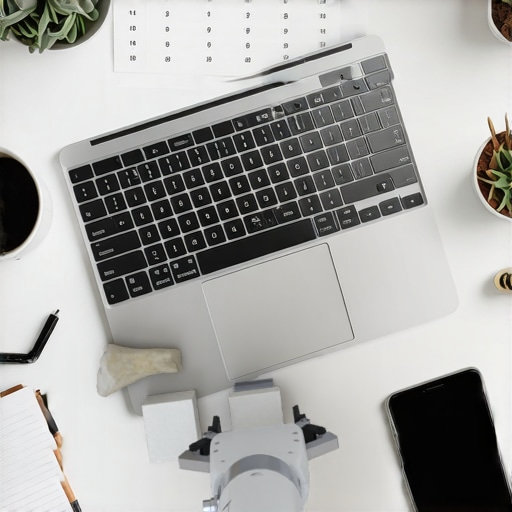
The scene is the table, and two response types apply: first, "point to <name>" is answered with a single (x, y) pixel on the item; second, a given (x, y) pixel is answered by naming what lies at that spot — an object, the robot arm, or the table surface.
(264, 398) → the white book
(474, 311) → the table surface
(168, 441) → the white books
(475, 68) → the table surface
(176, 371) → the stone
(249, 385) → the grey-blue block
